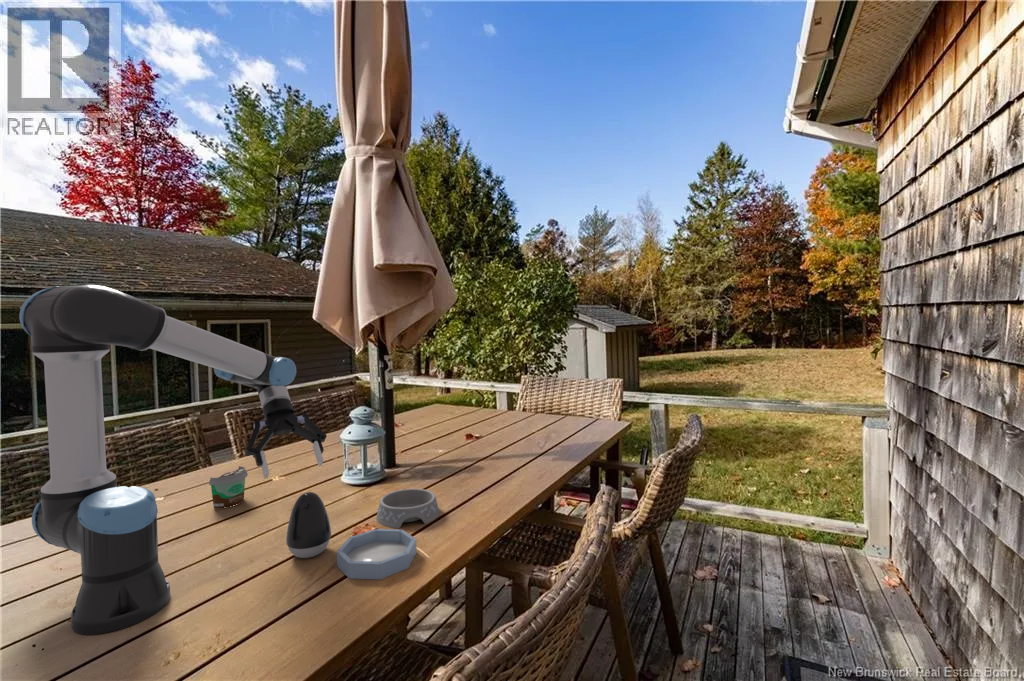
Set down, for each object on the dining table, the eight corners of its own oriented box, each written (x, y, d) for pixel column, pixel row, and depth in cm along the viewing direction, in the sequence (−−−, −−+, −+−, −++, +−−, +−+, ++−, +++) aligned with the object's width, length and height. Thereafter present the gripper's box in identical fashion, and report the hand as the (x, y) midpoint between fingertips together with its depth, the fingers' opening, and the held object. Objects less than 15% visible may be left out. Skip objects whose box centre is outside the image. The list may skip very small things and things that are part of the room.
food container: (227, 512, 140) (226, 479, 139) (209, 510, 141) (208, 478, 141) (257, 497, 152) (256, 466, 152) (241, 495, 153) (240, 465, 153)
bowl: (402, 580, 103) (401, 564, 103) (327, 577, 104) (327, 562, 104) (421, 543, 120) (421, 529, 120) (357, 541, 121) (356, 528, 121)
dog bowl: (374, 508, 143) (373, 491, 143) (433, 500, 149) (433, 484, 149) (378, 532, 127) (378, 513, 127) (445, 522, 133) (444, 503, 133)
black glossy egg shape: (282, 566, 109) (280, 503, 108) (290, 546, 119) (289, 487, 118) (329, 560, 112) (327, 498, 111) (333, 540, 122) (332, 483, 121)
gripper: (318, 406, 143) (338, 466, 133) (224, 419, 127) (239, 488, 117) (324, 391, 139) (345, 452, 129) (228, 402, 123) (243, 472, 112)
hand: (295, 469), depth 123 cm, fingers open, 13 cm apart
